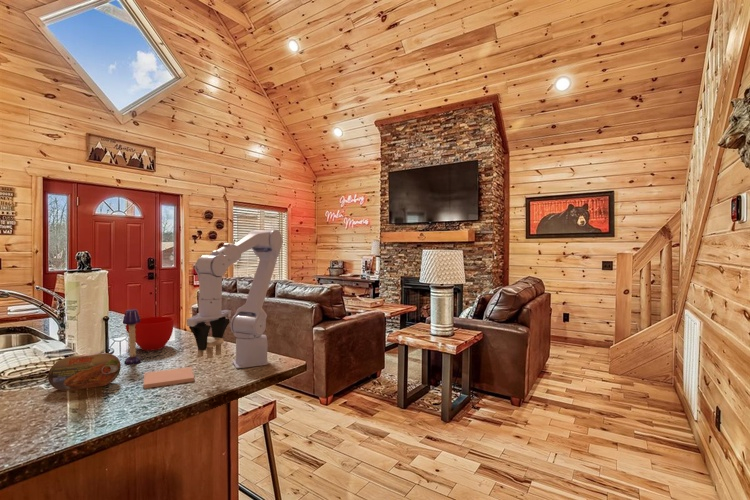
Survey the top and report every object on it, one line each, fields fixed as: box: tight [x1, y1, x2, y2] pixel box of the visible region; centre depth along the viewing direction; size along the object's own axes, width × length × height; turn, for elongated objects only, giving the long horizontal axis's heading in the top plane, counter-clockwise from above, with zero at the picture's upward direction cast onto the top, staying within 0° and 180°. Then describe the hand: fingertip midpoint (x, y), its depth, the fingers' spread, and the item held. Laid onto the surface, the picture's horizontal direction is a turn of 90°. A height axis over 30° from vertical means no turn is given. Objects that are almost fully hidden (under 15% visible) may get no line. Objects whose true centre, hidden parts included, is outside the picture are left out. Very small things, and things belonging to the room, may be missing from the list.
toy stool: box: [195, 336, 224, 360], centre depth 104 cm, size 5×5×4 cm
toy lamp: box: [122, 308, 142, 366], centre depth 118 cm, size 5×5×17 cm
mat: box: [142, 366, 195, 389], centre depth 105 cm, size 12×10×1 cm
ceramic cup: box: [125, 316, 175, 351], centre depth 134 cm, size 13×17×10 cm
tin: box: [47, 352, 122, 392], centre depth 98 cm, size 15×3×8 cm, turn 117°
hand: (209, 347), depth 104 cm, fingers closed on toy stool, 5 cm apart
